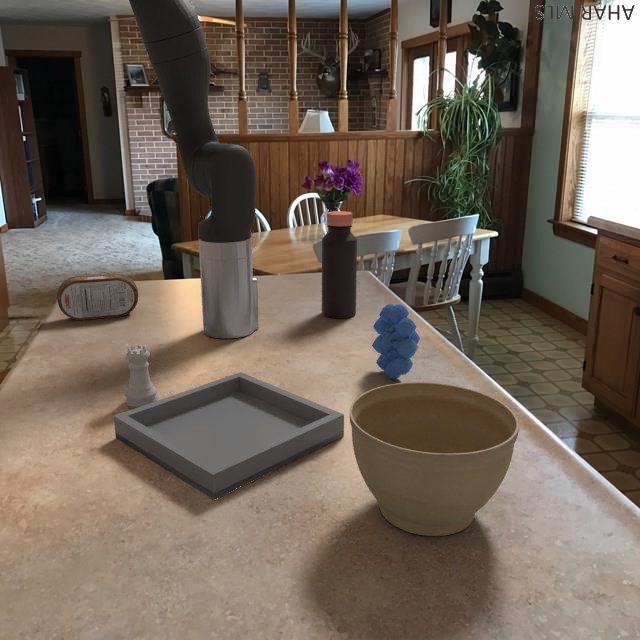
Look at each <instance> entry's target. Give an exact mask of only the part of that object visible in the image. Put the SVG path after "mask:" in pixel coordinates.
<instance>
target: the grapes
mask: <svg viewBox="0 0 640 640" xmlns="http://www.w3.org/2000/svg"><path fill="white" fill-rule="evenodd" d="M409 315H410V313H409V311H408V309H407V307H406V306H405V305H403V304H401V303H398V304H395V305H394V304H393V303H388V304H385V306H384V307H383V308H382V309H381V311H380V312H379V318H378V319H376V320H375V323H374V324H373V327H372V328H373V329H374V331H375V332H376V333H377V334H378V336H377V337H376V338H375V339H374V341H373V343H372V345H371V347H372V348H373V350H375V351H376V352H377V354H380V355H379V356H378V358H377V359H376V361H375V363H376V364H377V366H378V367H379V368H380V369H381V370H382V371H383V372H384V373H385V375H387V377H388V378H390V379H391V380H397V379H399V378H400V377H401V376H403V375H407V374H408V373H409V372H410V371H411V369H412V367H413V364H414V363H413V361H412V359H411V358H412V357H414V356H415V354H416V353H417V351H418V349H419V346H418V344H419V342H420V340H421V337H420V335H419V333H418V332H417V331H416V328H417V325H416V324H415V322H414V321H413V320H412V318H409Z"/></svg>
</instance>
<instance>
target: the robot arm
mask: <svg viewBox="0 0 640 640" xmlns="http://www.w3.org/2000/svg"><path fill="white" fill-rule="evenodd" d="M128 1H129V2H128V3H129V4H130V7H131V10H132V12H133V16H134V18H135V20H136V23H137V26H138V27H137V28H138V30H139V32H140V33H139V34H140V35H141V39H142V43H143V45H144V48H145V50H146V53H147V56H148V59H149V63H150V65H151V67H152V70H153V72H154V75H155V77H156V79H157V82H158V85H159V88H160V91H161V94H162V96H163V97H162V98H163V101H164V102H165V106H166V109H167V111H168V115H169V117H170V120H171V123H172V127H173V130H174V131H173V132H174V135H175V137H176V142H177V147H178V150H179V156H180V159H181V162H182V167H183V170H184V173H185V176H186V179H187V181H188V184H189V185H190V187H191V188H192V189H193V190H194V192H195V193H198V194H199V195H201V196H204V197H206V198H211V208H210V210H211V211H210V214H209V216H208V217H206V218H204V219H203V220H201V221H200V222H199V223H198V224H197V225H198V226H197V234H198V235H197V237H198V251H199V252H198V255H199V256H198V257H199V269H200V270H199V271H200V272H199V273H200V274H199V275H200V287H201V305H202V325H203V327H202V328H203V329H202V331H203V334H204V335H206V336H208V337H210V338H213V339H214V338H216V339H237V338H242V337H246V336H249V335H251V334H252V333H254V331H255V330H258V329H259V328H260V327H259V300H258V299H259V297H258V279H257V278H256V277H255V276H253V271H254V270H253V248H252V247H253V243H252V229H253V227H254V226H253V225H254V222H255V219H256V210H257V209H256V206H257V204H256V203H257V201H256V199H257V175H256V174H257V172H256V165H255V162H254V159H253V157H252V155H251V153H250V152H249V150H248V149H246V148H245V147H244V146H241V145H238V144H234V143H221V142H220V140H219V138H218V136H217V134H216V130H215V128H214V125H213V121H212V119H211V114H210V110H209V92H210V91H209V90H210V83H211V71H212V69H211V68H212V67H211V66H212V63H211V54H210V52H209V47H208V44H207V40H206V38H205V35H204V32H203V28H202V25H201V22H200V19H199V17H198V15H197V14H198V13H197V12H196V10H195V8H194V6H193V5H192V4H191V2H190V0H128Z"/></svg>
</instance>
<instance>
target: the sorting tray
mask: <svg viewBox="0 0 640 640" xmlns="http://www.w3.org/2000/svg"><path fill="white" fill-rule="evenodd" d="M113 422H114V435H115V439H116V440H118V441H120V442H122V443H123V444H125V445H127V446H128V447H130V448H131V449H133V450H134V451H136V452H137V453H139V454H141V455H142V456H144V457H146V458H147V459H148V460H150V461H152V462H153V463H154V464H156V465H158V466H159V467H161V468H163V469H164V470H166V471H167V472H169V473H170V474H172V475H174V476H175V477H177V478H178V479H180V480H182V481H183V482H185V483H186V484H188V485H189V486H191V487H193V488H194V489H196V490H198V492H200V493H202V492H203V493H202V494H204V495H205V494H206V496H207V497H208V496H209V498H210V497H211V498H210V499H211V500H213V499H214V500H213V501H216V500H218V499H220V498H222V497H224V496H226V495H228V494H230V493H232V492H234V491H236V490H237V489H236V488H238V489H240V488H241V487H240V486H242V487H244V486H246V485H248V484H250V483H249V482H251V481H253V480H255V479H257V478H259V477H261V478H262V476H263V475H265V476H266V474H267V475H268V473H269V474H271V473H272V472H275V471H276V470H279V469H281V468H283V467H285V466H288V465H289V464H291V463H293V462H295V461H297V460H299V459H301V458H303V457H305V456H307V455H310V454H312V453H313V452H315V451H317V450H319V449H322V448H323V447H325V446H328V445H330V444H331V443H334V442H336V441H338V440H340V439H342V438H344V437H345V434H344V433H345V414H344V413H342V412H339V411H336V410H334V409H331V408H329V407H327V406H324V405H322V404H319V403H317V402H314V401H312V400H309V399H307V398H305V397H303V396H300V395H297V394H295V393H292V392H290V391H288V390H285V389H283V388H280V387H278V386H276V385H273V384H270V383H268V382H265V381H263V380H261V379H258V378H257V377H254V376H251V375H249V374H246V373H243V372H242V371H240V372H238V373H234V374H231V375H228V376H226V377H222V378H220V379H216V380H214V381H211V382H208V383H205V384H202V385H200V386H197V387H194V388H190V389H187V390H185V391H182V392H178V393H177V394H174V395H173V394H172V395H171V396H166V397H164V398H161V399H157V401H155V402H152V403H149V404H147V405H144V406H141V407H138V408H132V409H129V410H126V411H124V412H121V413H118V414H115V415H113ZM270 472H271V473H270ZM263 477H264V476H263ZM259 479H260V478H259ZM257 480H258V479H257ZM255 481H256V480H255ZM253 482H254V481H253ZM247 483H248V484H247ZM251 483H252V482H251ZM245 484H246V485H245ZM243 485H244V486H243ZM239 487H240V488H239ZM235 489H236V490H235ZM233 490H234V491H233ZM231 491H232V492H231ZM229 492H230V493H229ZM227 493H228V494H227ZM225 494H226V495H225ZM223 495H224V496H223ZM221 496H222V497H221ZM219 497H220V498H219ZM217 498H218V499H217ZM215 499H216V500H215Z"/></svg>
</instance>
